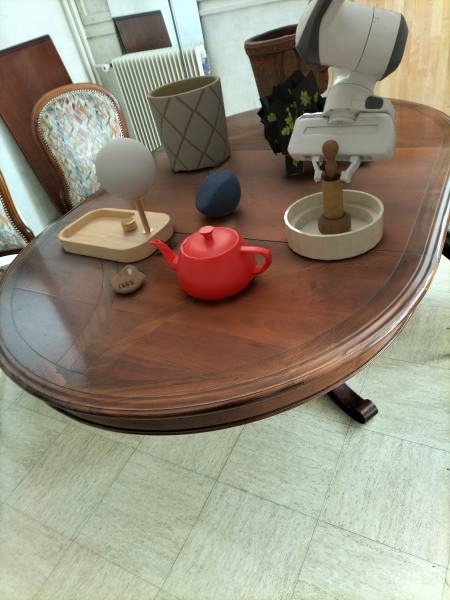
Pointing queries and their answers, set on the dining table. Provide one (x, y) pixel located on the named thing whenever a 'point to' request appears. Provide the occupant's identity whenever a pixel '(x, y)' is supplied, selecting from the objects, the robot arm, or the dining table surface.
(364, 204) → the bowl
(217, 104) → the planter
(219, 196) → the decorative stone
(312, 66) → the clay pot
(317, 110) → the potted plant
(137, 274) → the oil lamp
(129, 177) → the lamp
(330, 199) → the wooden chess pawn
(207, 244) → the teapot
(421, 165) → the dining table surface
